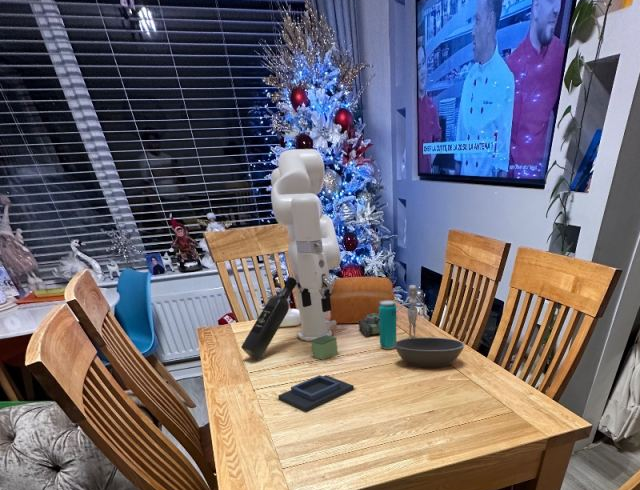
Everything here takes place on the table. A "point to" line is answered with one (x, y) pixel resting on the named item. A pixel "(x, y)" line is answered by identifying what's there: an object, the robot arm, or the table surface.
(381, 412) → the table surface
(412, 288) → the human figurine
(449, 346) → the bowl
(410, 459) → the table surface
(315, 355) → the green block
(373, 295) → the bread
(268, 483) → the table surface
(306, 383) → the black pad
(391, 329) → the beverage can
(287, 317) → the earbud case
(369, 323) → the toy tank
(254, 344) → the wine bottle
